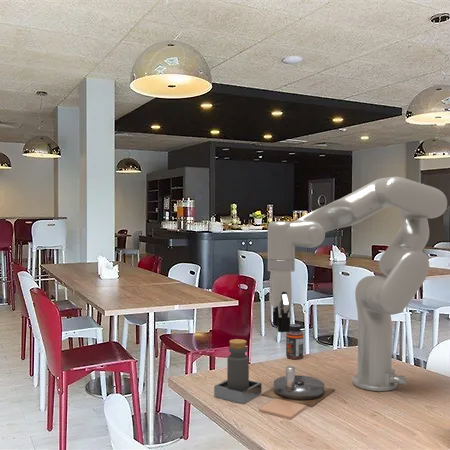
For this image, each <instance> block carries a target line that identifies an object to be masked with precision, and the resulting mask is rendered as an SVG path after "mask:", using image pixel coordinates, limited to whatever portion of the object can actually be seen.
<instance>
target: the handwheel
mask: <svg viewBox="0 0 450 450" xmlns="http://www.w3.org/2000/svg"><path fill="white" fill-rule="evenodd" d="M295 370H296V367H295V366H292V365H288V366H285V375H284V376H280V377H277V378H276V379H274V380H273V387H274V392H275V393H276V394H277V395H279V396H282V397H285V398H289V399H297V400H308V399H315V398H318V397H321V396H322V395H323V394H324V387H325V383H324V381H322V380H321V379H319V378H316V377H312V376H309V375H296V371H295Z"/></svg>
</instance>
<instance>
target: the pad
mask: <svg viewBox="0 0 450 450" xmlns="http://www.w3.org/2000/svg"><path fill="white" fill-rule="evenodd" d="M307 408H308V406H307V405H303V404H299V403H295V402H290V401H286V400H282V399H278V398H276V399H275V398H273V399H272V400H271V401H269V402H267V403H265V404H263V405H262V406H261V407H259V408H258V412H261V413H264V414H268V415H273V416H276V417H280V418H284V419H288V420H292V419H293V418H295V417H296V416H297V415H299V414H300V413H301V412H303V411H305V410H306V409H307Z"/></svg>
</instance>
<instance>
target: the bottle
mask: <svg viewBox="0 0 450 450" xmlns="http://www.w3.org/2000/svg"><path fill="white" fill-rule="evenodd" d="M247 342H248V341H247V340H245V339H242V338H241V339H239V338H235V339H230V340H229V347H228V351H229V353H230V354H229V355H228V356H227V361H226V363H227V365H226V366H227V372H226V373H227V377H226V380H227V388H230V389H234V390H238V391H244V390H246V389H248V388H249V380H250V379H249V377H250V372H249V371H250V366H249V365H250V363H249V360H250V359H249V356H248V355H247V354H246V353H247V352H248V347H247Z"/></svg>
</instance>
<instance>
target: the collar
mask: <svg viewBox="0 0 450 450" xmlns="http://www.w3.org/2000/svg"><path fill="white" fill-rule="evenodd" d="M213 390H214V391H213V397H214V398H218V399H221V400H226V401H229V402H234V403H238V404H241V405H244V404H246V403H248V402H249V401H251V400H253V399H254V398H257V397H258V396H259V395H262V394H263V392H262V390H263V389H262V382H259V381H254V380H250V379H249V388H248V389H246V390H244V391H238V390H234V389H230V388H227V379H226V380H224V381H222V382H220V383H217V384H215V385H214V386H213Z"/></svg>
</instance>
